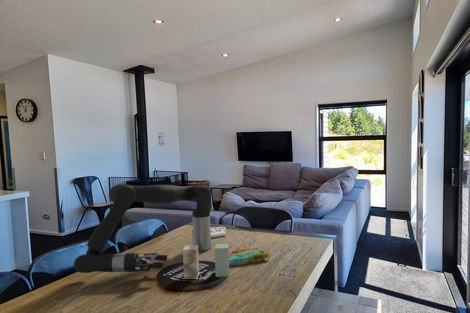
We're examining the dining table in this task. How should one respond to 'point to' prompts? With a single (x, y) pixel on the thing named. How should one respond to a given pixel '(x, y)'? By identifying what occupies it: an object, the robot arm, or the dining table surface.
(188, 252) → the birch block
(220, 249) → the sage block
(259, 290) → the dining table surface
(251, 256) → the puzzle game
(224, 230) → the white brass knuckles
